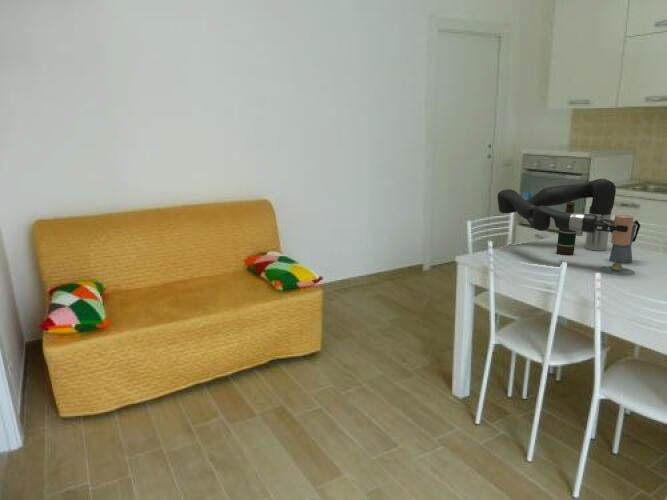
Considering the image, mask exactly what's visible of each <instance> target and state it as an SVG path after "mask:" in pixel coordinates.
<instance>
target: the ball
mask: <svg viewBox="0 0 667 500" xmlns="http://www.w3.org/2000/svg"><path fill="white" fill-rule="evenodd" d="M611 266H612V268H613V270H615V271H619V270H621V268H623V266H622V263H615V262H613V264H612V265H611Z"/></svg>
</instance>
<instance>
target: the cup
mask: <svg viewBox="0 0 667 500" xmlns="http://www.w3.org/2000/svg"><path fill="white" fill-rule="evenodd" d="M613 220H614V223H613V224H614V225H619V226H627V227H628V231H627V232H620V231H617V230H616V231H615V232H612V237H610V243H611V244H612V243H613V244H617V245H629V244H630V239H631V232H632V226H633V221H634V216H633V215H631V214H630V215H629V214H615V215H614V216H613ZM613 244H612V245H613Z"/></svg>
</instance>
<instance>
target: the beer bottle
mask: <svg viewBox="0 0 667 500" xmlns="http://www.w3.org/2000/svg"><path fill="white" fill-rule="evenodd" d="M575 205H576V204H575V202H574V201H571V202H567V203H565V206H566V208H565V212H566V213H575ZM576 236H577V231H573V230H568V229H560V228H558V235H557V245H556V254H557V255H559V254H560V256H566V257H568V256H570V257H571V256H573V255H574V253H575V246H576V239H577V237H576Z"/></svg>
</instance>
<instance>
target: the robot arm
mask: <svg viewBox="0 0 667 500" xmlns="http://www.w3.org/2000/svg"><path fill="white" fill-rule="evenodd" d="M616 190H617V187H616V185H615V183H614V181H613V182H612V181H611V180H609V179H607V178H597V179H594V180H590V181H586V182H585V181H584V182H582V183H581V182H580V183H572V184H570V183H569V184H561V185H554V186H553V185H552V186H547V187H543V188H542V189H541V190H540V191H538V192H537V193H535V194H534V195H533V196H531V197H530V198H528V199H525V198H524V197H522V196H521V195H520V194H519V193H518V192H517V191H516V190H514V189H510V188H509V189H502V190H500V191H499V192H498V193H497V206H498V211H499V213H501V214H512V213H513V214H514V213H517V214H518V215H519V216H520V217H522V218H523V219H525V220H527V221H526V222H528V223H529V226H531V227H532V228H533V229H535V230H536V231H540V232H542V231H546V230H548V229H549V228H550V225H551V218H552V219H553V220H554V226H555V228H557V229H559V228H560V229H568V230H573V231H576V232H582V233H586V235H585V243H584V248H585V249H587V250H592V251H598V252H599V251H600V252H601V251H602V252H603V251H607V247H608V240H609V233H611V232H615V231H616V230H617V231H620V232H627V231H628V227H627V226H619V225H614V224H613V223H614V219H611V217H612V211H613V209H614V205H615V199H616V193H617V191H616ZM588 198H589V199H591V198H592V199H591V200H592V201H591V204H590V207H589V209H588V210H589V211H588V213H582V212H581V213H580V212H574V213H566V211H565V212H563V211H560V210H556V209H553V208H551V207H552V206H553V207H554V206H560V205H566V204H567V202H574V201H577V200H581V199H588Z"/></svg>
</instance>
